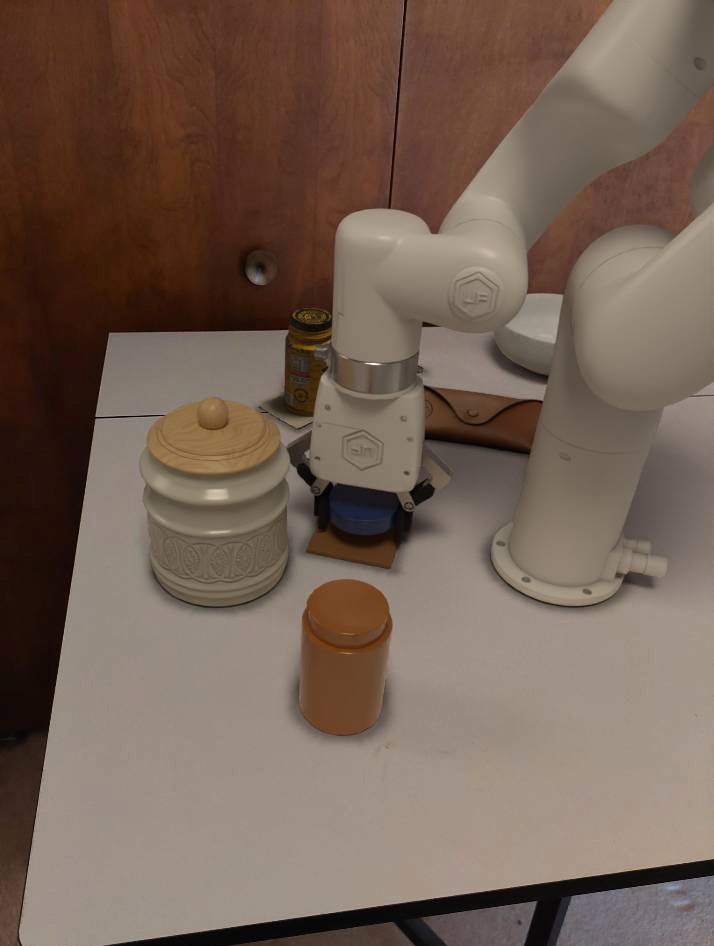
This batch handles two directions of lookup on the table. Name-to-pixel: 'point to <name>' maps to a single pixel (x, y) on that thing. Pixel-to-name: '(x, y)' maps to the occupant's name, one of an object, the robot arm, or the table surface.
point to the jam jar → (344, 656)
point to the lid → (362, 509)
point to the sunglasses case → (481, 418)
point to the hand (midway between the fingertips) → (362, 527)
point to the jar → (216, 502)
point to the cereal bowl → (532, 333)
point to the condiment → (302, 366)
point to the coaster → (354, 546)
